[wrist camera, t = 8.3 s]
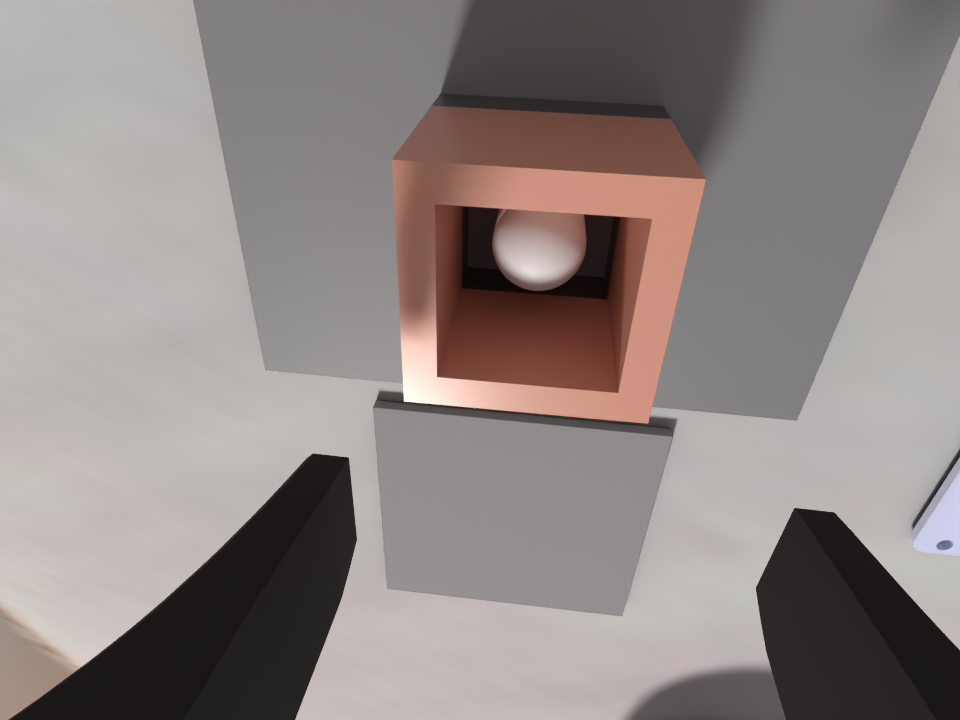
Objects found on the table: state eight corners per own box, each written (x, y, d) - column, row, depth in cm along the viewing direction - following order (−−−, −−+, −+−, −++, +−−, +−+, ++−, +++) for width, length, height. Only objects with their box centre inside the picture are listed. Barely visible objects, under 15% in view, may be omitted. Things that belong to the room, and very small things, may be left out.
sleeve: (663, 105, 14) (705, 179, 10) (626, 302, 17) (647, 423, 13) (440, 93, 14) (391, 159, 10) (441, 288, 17) (403, 401, 13)
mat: (670, 428, 21) (672, 436, 21) (621, 607, 27) (622, 616, 26) (375, 400, 22) (373, 407, 21) (389, 580, 27) (387, 588, 27)
